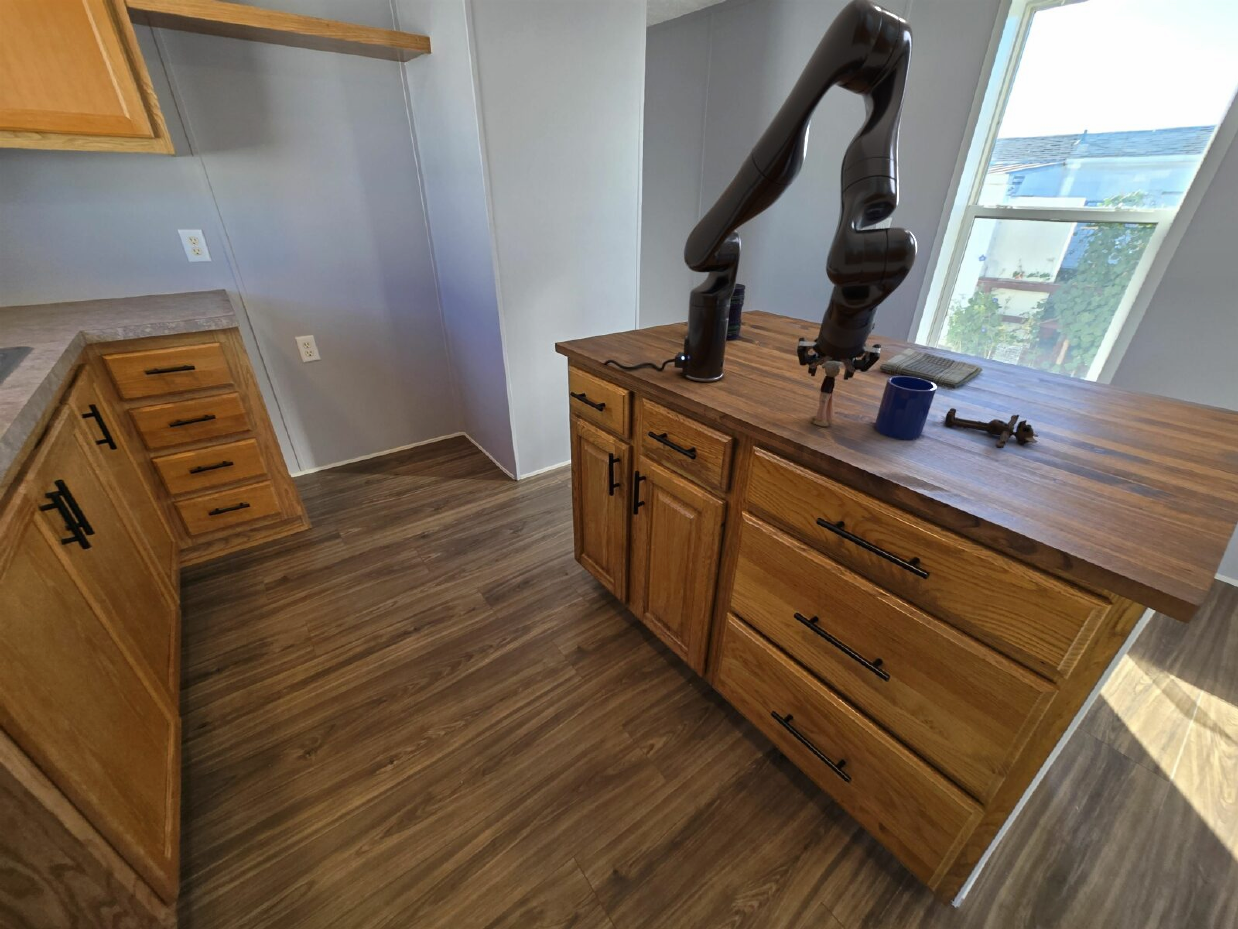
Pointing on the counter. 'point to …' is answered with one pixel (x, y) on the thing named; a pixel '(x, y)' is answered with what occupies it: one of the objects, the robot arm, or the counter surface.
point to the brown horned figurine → (995, 428)
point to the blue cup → (905, 407)
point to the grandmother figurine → (827, 393)
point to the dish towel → (931, 368)
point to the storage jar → (735, 313)
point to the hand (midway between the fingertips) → (829, 373)
